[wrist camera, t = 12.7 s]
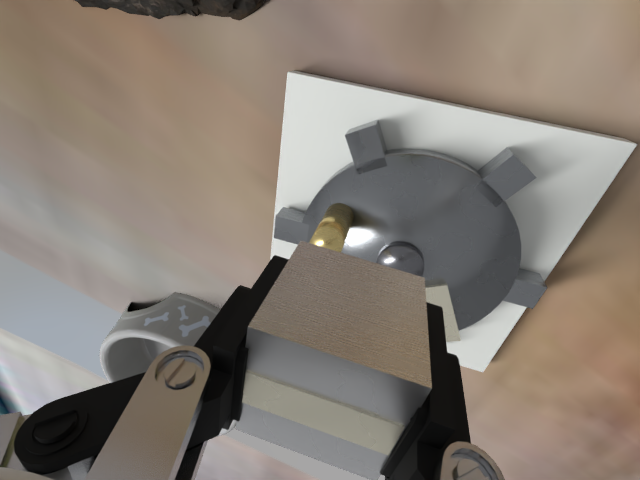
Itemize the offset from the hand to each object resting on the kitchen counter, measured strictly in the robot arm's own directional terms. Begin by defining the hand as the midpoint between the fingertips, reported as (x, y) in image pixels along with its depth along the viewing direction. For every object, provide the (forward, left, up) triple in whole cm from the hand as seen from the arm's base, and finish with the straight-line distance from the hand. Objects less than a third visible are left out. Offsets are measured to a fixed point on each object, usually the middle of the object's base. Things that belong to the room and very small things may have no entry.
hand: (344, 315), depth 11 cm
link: (0, 0, 0) cm, 0 cm away
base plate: (-3, +4, -14) cm, 15 cm away
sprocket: (-3, +4, -12) cm, 13 cm away
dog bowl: (+15, +26, -14) cm, 33 cm away
